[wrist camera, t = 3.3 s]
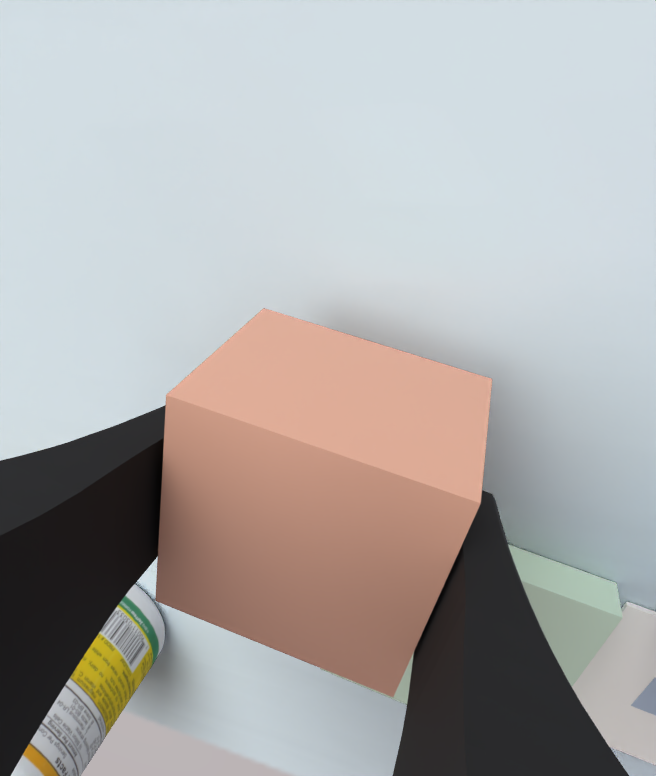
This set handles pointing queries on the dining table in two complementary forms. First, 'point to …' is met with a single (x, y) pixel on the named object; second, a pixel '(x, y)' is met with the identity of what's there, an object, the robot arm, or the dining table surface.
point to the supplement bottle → (97, 690)
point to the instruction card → (624, 685)
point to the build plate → (558, 613)
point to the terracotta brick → (319, 493)
